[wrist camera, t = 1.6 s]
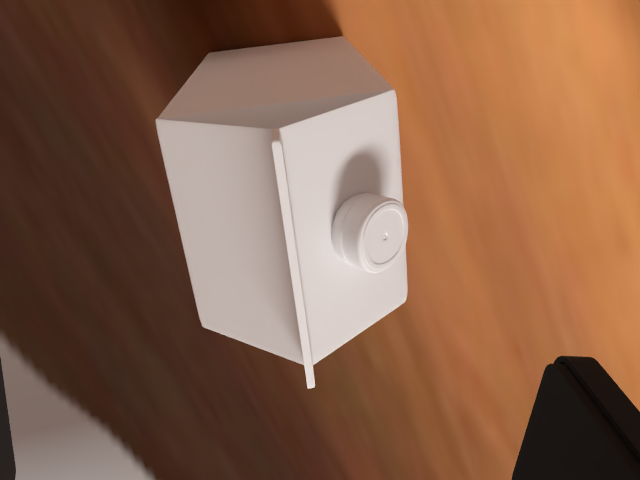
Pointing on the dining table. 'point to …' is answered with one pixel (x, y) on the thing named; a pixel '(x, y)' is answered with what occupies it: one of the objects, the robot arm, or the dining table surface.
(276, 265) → the milk carton
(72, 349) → the dining table surface
